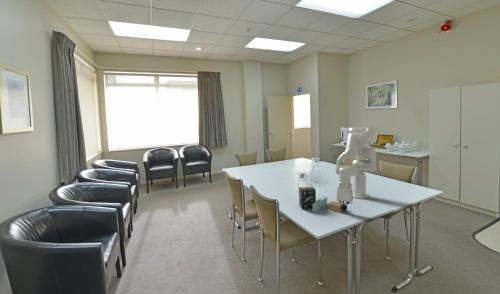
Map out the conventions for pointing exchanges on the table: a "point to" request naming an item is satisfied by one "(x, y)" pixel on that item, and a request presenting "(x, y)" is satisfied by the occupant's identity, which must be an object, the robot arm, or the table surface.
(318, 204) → the board
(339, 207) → the block
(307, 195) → the tampon box
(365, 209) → the table surface
